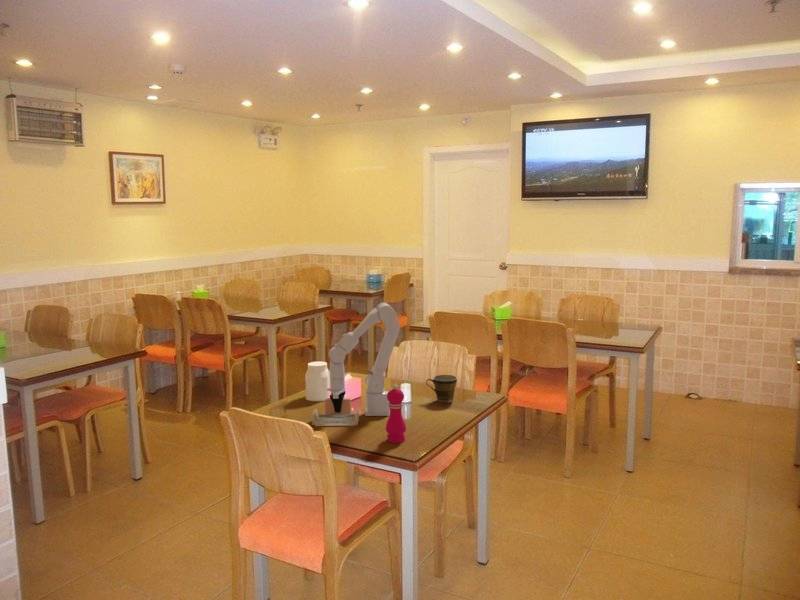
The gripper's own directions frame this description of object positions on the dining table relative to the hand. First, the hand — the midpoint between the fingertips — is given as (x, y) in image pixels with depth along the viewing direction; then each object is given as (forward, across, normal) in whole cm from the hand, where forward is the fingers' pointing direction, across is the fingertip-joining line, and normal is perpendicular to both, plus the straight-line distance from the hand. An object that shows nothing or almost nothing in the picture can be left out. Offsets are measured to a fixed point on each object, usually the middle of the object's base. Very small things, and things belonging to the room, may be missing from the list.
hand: (338, 411), depth 256 cm
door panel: (+2, 0, 0) cm, 2 cm away
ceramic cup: (+2, -19, +42) cm, 46 cm away
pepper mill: (+2, +27, +24) cm, 36 cm away
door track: (+2, +8, 0) cm, 8 cm away
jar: (+2, -25, -12) cm, 28 cm away
